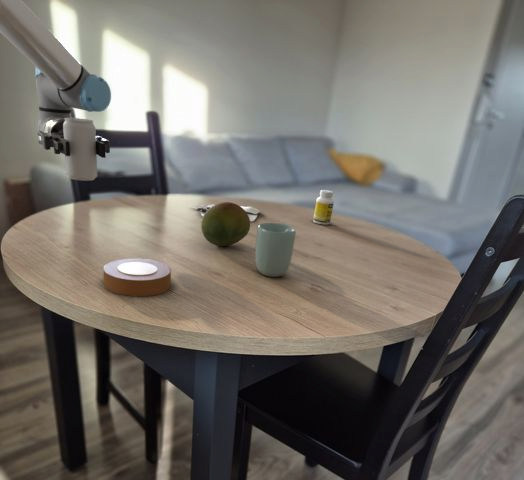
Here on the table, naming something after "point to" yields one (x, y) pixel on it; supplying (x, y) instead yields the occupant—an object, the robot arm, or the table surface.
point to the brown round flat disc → (137, 277)
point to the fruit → (225, 224)
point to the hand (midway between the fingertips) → (85, 149)
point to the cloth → (249, 210)
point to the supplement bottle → (324, 208)
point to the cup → (274, 248)
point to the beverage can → (81, 149)
